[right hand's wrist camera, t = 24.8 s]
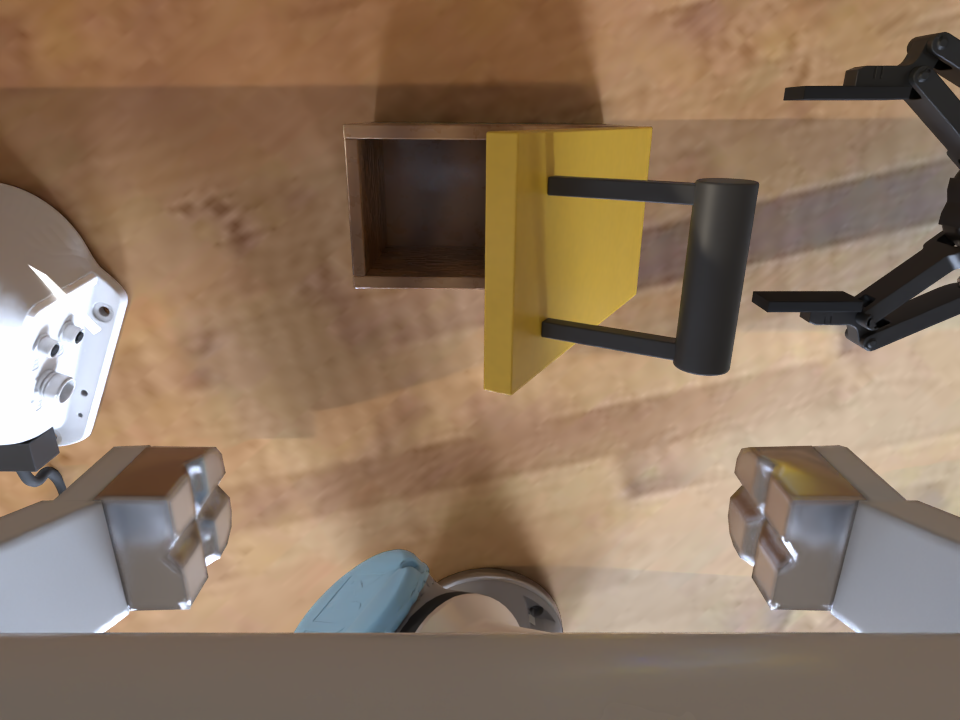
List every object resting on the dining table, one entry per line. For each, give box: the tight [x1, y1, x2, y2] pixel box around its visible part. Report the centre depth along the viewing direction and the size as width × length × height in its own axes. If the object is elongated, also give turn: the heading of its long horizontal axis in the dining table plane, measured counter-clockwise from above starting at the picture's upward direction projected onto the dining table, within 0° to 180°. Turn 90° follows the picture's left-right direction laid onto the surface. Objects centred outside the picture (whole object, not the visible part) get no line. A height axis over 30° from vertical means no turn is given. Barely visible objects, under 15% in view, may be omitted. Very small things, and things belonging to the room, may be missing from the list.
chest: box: [343, 122, 638, 289], centre depth 44 cm, size 17×10×11 cm, turn 90°
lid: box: [484, 127, 759, 395], centre depth 29 cm, size 18×10×9 cm
